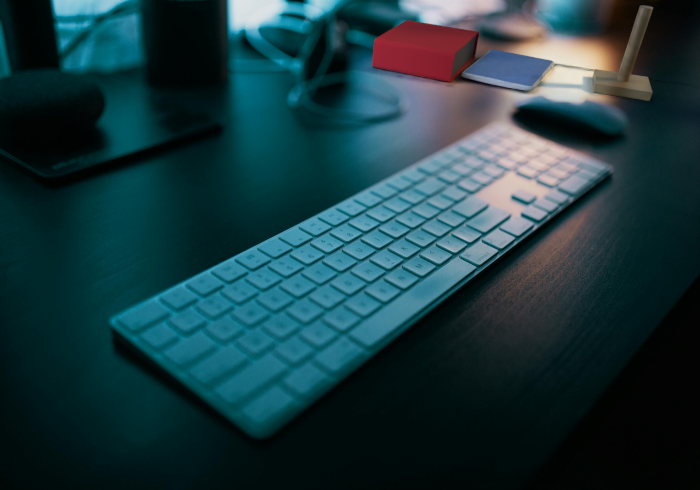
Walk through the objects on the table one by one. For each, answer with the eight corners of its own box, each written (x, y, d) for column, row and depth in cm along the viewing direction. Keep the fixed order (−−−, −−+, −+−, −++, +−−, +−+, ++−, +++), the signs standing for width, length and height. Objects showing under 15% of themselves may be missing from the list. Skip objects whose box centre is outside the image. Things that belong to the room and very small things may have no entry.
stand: (645, 85, 104) (673, 5, 96) (649, 101, 97) (680, 16, 89) (592, 77, 106) (616, -2, 98) (593, 92, 99) (618, 8, 91)
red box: (405, 45, 116) (408, 19, 113) (474, 57, 112) (479, 30, 109) (371, 68, 102) (374, 39, 99) (449, 83, 98) (454, 53, 95)
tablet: (490, 54, 114) (491, 47, 114) (554, 66, 110) (556, 59, 109) (458, 80, 100) (460, 72, 99) (532, 95, 96) (533, 87, 95)
